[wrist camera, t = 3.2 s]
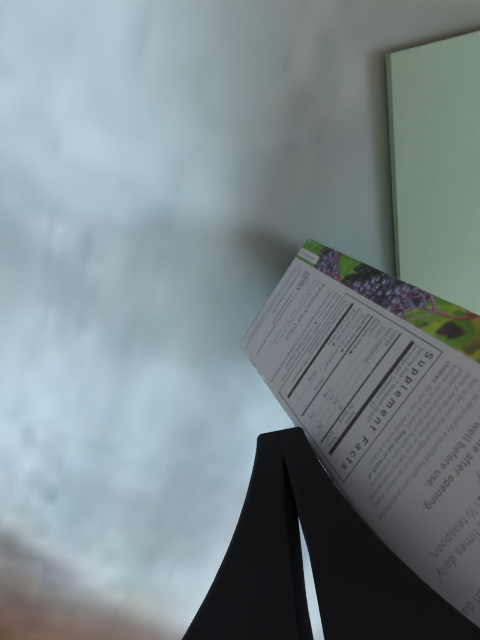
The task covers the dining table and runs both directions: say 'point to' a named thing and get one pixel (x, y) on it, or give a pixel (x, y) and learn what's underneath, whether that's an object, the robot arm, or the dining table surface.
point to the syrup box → (384, 406)
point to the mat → (437, 166)
